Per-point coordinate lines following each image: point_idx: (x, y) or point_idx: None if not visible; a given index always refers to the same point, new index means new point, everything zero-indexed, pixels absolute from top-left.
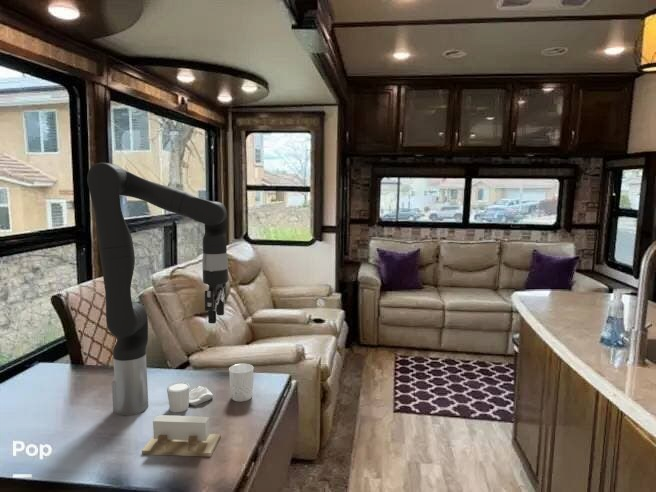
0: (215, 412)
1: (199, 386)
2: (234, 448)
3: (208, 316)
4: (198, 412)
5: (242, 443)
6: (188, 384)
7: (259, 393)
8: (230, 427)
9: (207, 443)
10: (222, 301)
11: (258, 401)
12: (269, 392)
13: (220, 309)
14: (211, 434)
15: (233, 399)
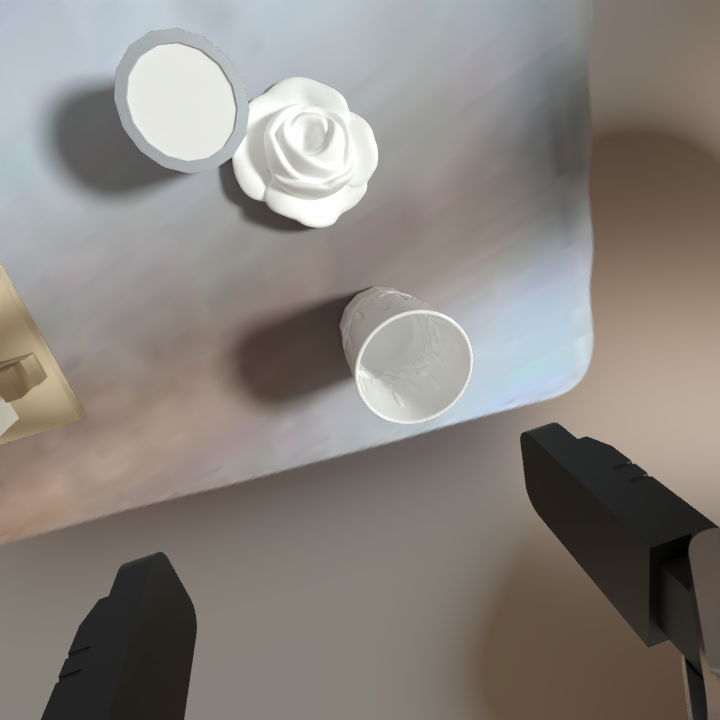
0: (231, 298)
1: (325, 155)
2: (54, 484)
3: (92, 653)
4: (202, 232)
5: (93, 489)
6: (234, 144)
7: None
8: (160, 407)
9: None
10: (688, 698)
11: None
12: None
13: (577, 528)
14: (60, 394)
15: (343, 312)
